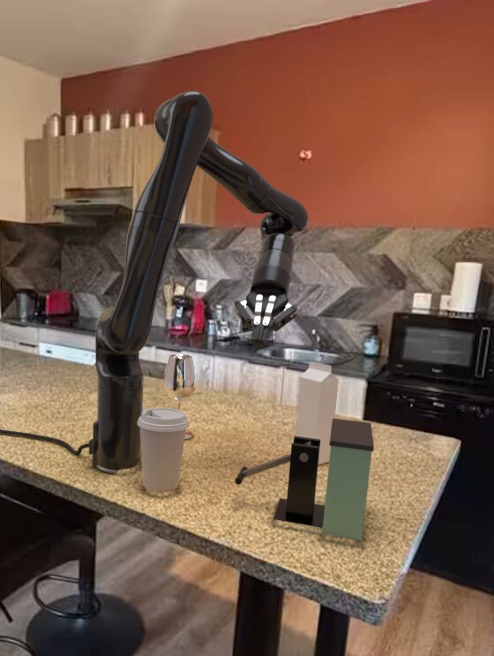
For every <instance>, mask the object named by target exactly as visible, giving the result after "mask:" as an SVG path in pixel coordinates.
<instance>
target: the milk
mask: <svg viewBox="0 0 494 656" xmlns="http://www.w3.org/2000/svg"><path fill="white" fill-rule="evenodd" d="M332 368H333V367H332V366H331V365H328V364H325V363H320V362H316V361H315V362H314V361H309V364H308V368H307V369H306V370H305V371H304V372H303V373H302V374H301V375H300V376H299V381H298V393H297V405H296V415H295V416H296V418H295V428H294V436H299V437H307V438H314V439H320V451H319V462H318V466H319V465H323V464H326V463H329V458H330V448H331V446H330V445H329V444H330V435H331V427H332V419H333V418H334V419H336V410H337V400H338V391H339V381H340V380H339V378H338V377H337V376H336V375H334V374H333V373H332V370H333V369H332Z"/></svg>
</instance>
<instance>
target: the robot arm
mask: <svg viewBox="0 0 494 656" xmlns="http://www.w3.org/2000/svg"><path fill="white" fill-rule="evenodd" d="M213 122H214V112H213V108H212V104H211V102H210V100H209V99H208V98H207V96H205V94H204V93H201V92H199V91H196V90H189V91H185V92H182V93H179V94H177V95H175V96H173V97H170V98H169V99H167V100H165V101H164V102H162V103H161V104H160V105H159V106H158V108H157V109H156V110H155V113H154V118H153V125H154V130H155V133H156V134H157V136H158V138H159V139H160V141H161V142H162V143H164V144H163V149H162V152H161V155H160V158H159V160H158V163H157V165H156V167H155V169H154V170H153V172H152V174H151V176H150V178H149V179H148V181H147V183H146V184H145V186H144V187H143V189H142V191H141V193H140V195H139V197H138V199H137V202H136V204H135V206H134V209H133V213H132V216H131V219H130V222H129V225H128V230H127V234H126V240H125V252H124V272H123V280H122V284H121V287H120V290H119V293H118V296H117V299H116V301H115V304H114V305H113V306H112V305H111V306H109V307H107V308H106V309H105V310H103V311H102V312H101V313H100V314H99V316H98V318H97V321H96V325H95V333H94V334H95V335H94V336H95V337H94V338H95V339H94V340H95V342H94V343H95V344H94V345H95V346H94V347H95V349H94V350H95V351H94V353H95V370H96V375H97V407H96V408H97V410H96V411H97V412H96V414H97V415H96V420H95V421H94V422H93V424H92V438H91V439H89V440H88V443H83V444H81V445H80V446H79V447H78V449H77V450H75V449H74V448H73V447H72V446H71V445H70V444H69V443H68V442H66V441H65V440H61V439H58V438H57V437H51V436H46V435H40V434H35V433H29V432H23V431H15V430H14V431H13V430H7V429H0V434H3V435H11V436H20V437H25V438H26V437H27V438H33V439H38V440H43V441H49V442H54V443H57V444H60V445H62V446H64V447H65V448H66V450H68V451H69V452H70V453H71V454H73V455H75V456H79V455H80V454H81V453H82V451H83V450H84V449H88V455H92V459H91V461H92V465H91V467H92V468H95V469H97V470H99V471H101V472H104V473H108V474H117V473H118V472H119V471H120V470H127V469H132V468H136V467H137V466H139V465H140V464H141V463H142V457H141V439H140V427H139V426H138V425H137V422H138V419H139V417H140V416H141V414H142V412H143V411H144V410H143V409H144V406H143V404H144V371H143V369H142V366H141V363H140V362H141V361H140V351H142V350H143V349H144V347H146V345H147V342H148V341H149V338H150V336H151V331H152V325H153V320H154V314H155V310H156V309H155V308H156V305H157V304H156V303H157V299H158V296H159V295H158V294H159V291H160V287H161V284H162V281H163V279H164V275H165V273H166V269H167V265H168V263H169V259H170V256H171V253H172V250H173V248H174V247H173V246H174V244H175V241H176V238H177V235H178V230H179V227H180V223H181V221H182V220H181V219H182V216H183V212H184V208H185V205H186V202H187V199H188V195H189V192H190V188H191V185H192V181H193V178H194V174H195V172H196V169H197V167H198V168H199V169H201V170H202V171H204V172H205V173H206V174H207V175H208V176H209V177H211V178H212V179H213V180H214V181H216V182H217V183H218V184H219V185H220V186H221V187H223V189H225V190H226V191H227V192H228V193H229V194H230V195H231V196H232V197H233V198H234V199H235V200H236V201H238V202H239V204H240V205H242V206H243V207H244V208H245V209H246V210H247V211H248V212H249V213H250V214H252V215H255V216H258V215H262V214H265V215H264V216H263V217H262V219H261V221H260V224H259V229H260V230H259V233H260V239H261V240H260V241H261V248H260V253H259V258H258V260H257V262H256V265H255V268H254V273H253V277H252V280H251V286H250V288H249V292H248V294H247V295H246V296H245V299H243V300H242V301H240V300H235V301H233V305H234V310H235V314H236V315H237V316H238V318H239V319H240V321H241V322H242V323H243V324H244V326H245V328H246V329H248V330H250V329H252V331H251V335H250V340H251V341H250V342H251V344H252V345H253V347H255V348H263V346H265V345H266V344H267V340H268V335H269V333H270V332H271V331H274V332H278V331H280V330H281V329H282V328H284V327H285V326H286V325H288V324H289V323H290V322H291V321H293V320H294V319H296V317H298V306H297V305H296V304H291V303H289V298H288V296H289V291H290V284H291V281H292V277H293V276H292V274H293V264H294V257H295V252H296V241H295V240H294V238H293V237H292V236H295V235H297V234H299V233H302V232H303V231H304V230H305V229H306V228H307V227H308V224H309V219H310V218H309V213H308V210H307V208H306V207H305V206H304V204H302V202H300V201H299V200H298V199H296V198H294V197H293V196H292V195H289V194H287V193H285V192H283V191H282V190H281V189H278V188H276V187H274V186H273V185H272V184H271V183H270V182H269V181H268V180H267V179H266V178H265V177H264V176H263V175H262V174H261V173H260V172H259V171H258V170H257V169H256V168H255V167H254V166H252V165H251V164H250V163H249V162H247V161H246V160H243V159H242V158H240V157H239V156H237V155H235V154H233V153H232V152H231V151H229V150H227V149H225V148H224V147H223V146H221V145H220V144H218V143H217V142H216V141H215V140H214V139H212V138H211V136H210V134H211V131H212V128H213ZM248 309H249V310H250V312H251V313H252V315H253V316H254V317H253V318H252V316H251V315H250V314H249V313H248V312H249V311H248Z"/></svg>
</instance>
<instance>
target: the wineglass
mask: <svg viewBox="0 0 494 656" xmlns="http://www.w3.org/2000/svg"><path fill="white" fill-rule="evenodd" d="M195 373H196V372H195V366H194V361H193V356H192V355H191V354H190V355H189V354H184V353H183V354H182V353H175V354H170V355H168V360H167V363H166V366H165V371H164V376H163V382H162V384H163V385H162V386H163V391H164V393H165V395H166V396H167V397H168V398H169V399H170V400H171V401H173V402H175V406H176V409H178V410H181V404H182V403H183V402H185V401H187V400H189V399H190V398H191V397H192V396H193V394H194V393H195V390H196V374H195ZM192 437H193V434H192V433H191V432H190V431H188V430H186V433H185V439H184V440H188V439H190V438H191V439H192Z"/></svg>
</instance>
